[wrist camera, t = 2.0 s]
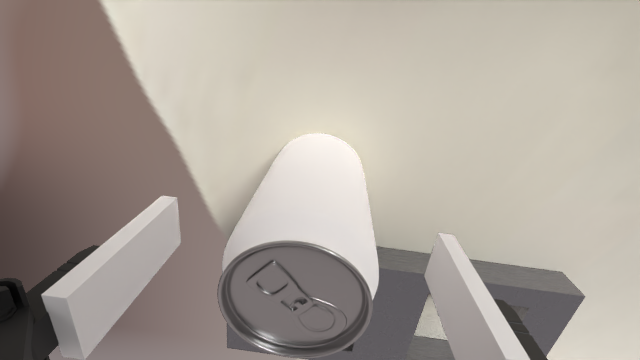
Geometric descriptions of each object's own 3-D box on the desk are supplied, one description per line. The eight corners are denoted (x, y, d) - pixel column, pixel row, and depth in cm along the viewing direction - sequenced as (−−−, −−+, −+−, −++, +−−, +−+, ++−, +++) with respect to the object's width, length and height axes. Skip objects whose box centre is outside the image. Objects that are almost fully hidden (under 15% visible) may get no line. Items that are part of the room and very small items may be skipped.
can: (316, 228, 24) (294, 386, 13) (255, 171, 22) (169, 297, 11) (382, 178, 21) (422, 317, 11) (320, 111, 20) (292, 193, 9)
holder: (236, 227, 24) (225, 246, 22) (562, 272, 24) (585, 296, 21) (236, 323, 29) (227, 347, 26) (509, 362, 28) (523, 390, 26)
